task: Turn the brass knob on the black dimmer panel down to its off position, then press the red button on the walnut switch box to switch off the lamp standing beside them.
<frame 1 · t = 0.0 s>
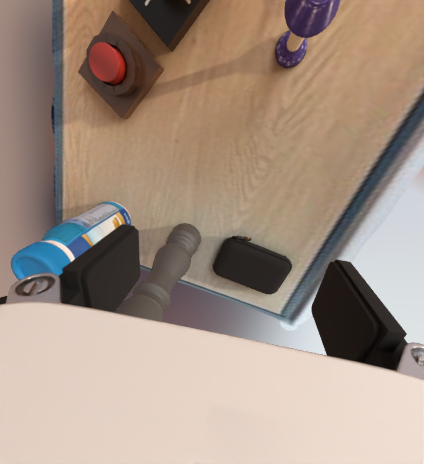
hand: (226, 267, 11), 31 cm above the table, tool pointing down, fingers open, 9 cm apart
power button: (108, 64, 31), point 5 cm above the table, slide at 0.1 cm
toy lamp: (287, 51, 31), on the table
carrying case: (252, 260, 46), on the table
candle holder: (186, 236, 46), on the table
switch box: (124, 72, 35), on the table
beverage bottle: (115, 218, 47), on the table
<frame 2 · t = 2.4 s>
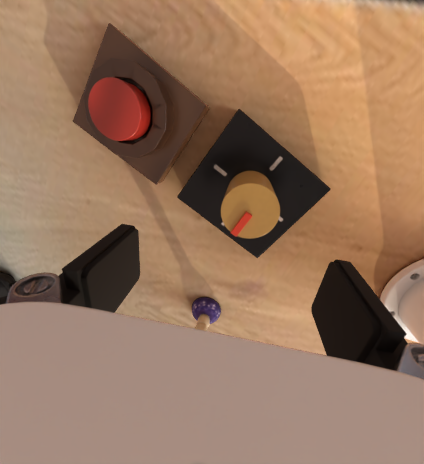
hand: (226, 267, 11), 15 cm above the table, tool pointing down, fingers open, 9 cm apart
power button: (120, 111, 18), point 5 cm above the table, slide at 0.1 cm
toy lamp: (205, 305, 32), on the table
carrying case: (6, 299, 38), on the table
dimmer knob: (249, 202, 19), point 5 cm above the table, hinge at 95.0°
dimmer: (249, 187, 24), on the table
switch box: (144, 115, 22), on the table
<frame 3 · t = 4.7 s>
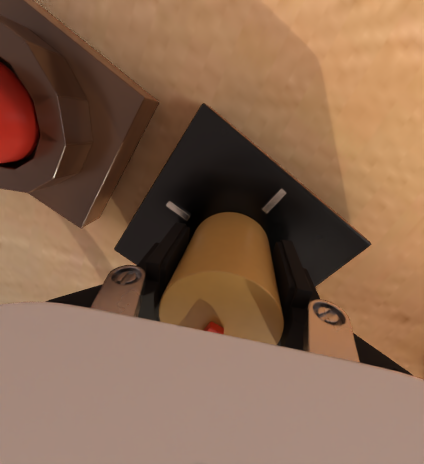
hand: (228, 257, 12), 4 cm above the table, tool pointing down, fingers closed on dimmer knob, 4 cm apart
dimmer knob: (225, 278, 10), point 5 cm above the table, hinge at 95.2°, touching gripper
dimmer: (232, 229, 15), on the table
switch box: (56, 116, 13), on the table
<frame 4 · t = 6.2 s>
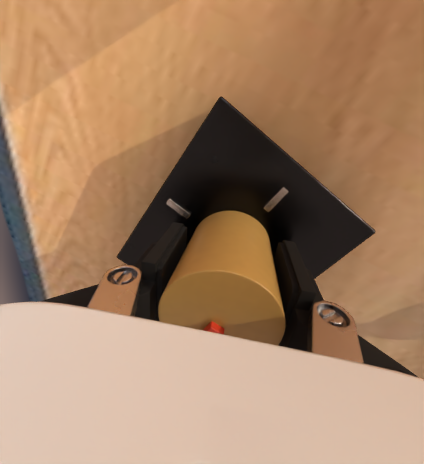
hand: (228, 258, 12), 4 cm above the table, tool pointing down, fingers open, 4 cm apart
dimmer knob: (225, 277, 10), point 5 cm above the table, hinge at 3.4°
dimmer: (232, 228, 15), on the table
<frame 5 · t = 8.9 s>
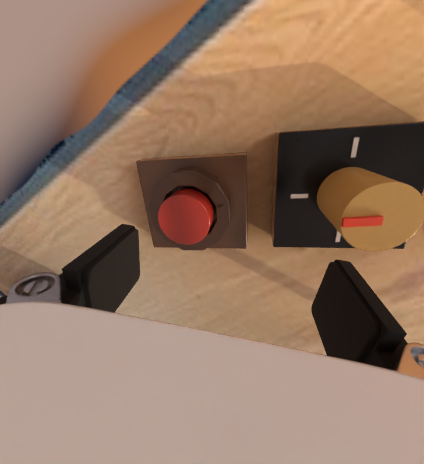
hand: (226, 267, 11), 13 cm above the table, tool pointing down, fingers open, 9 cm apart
power button: (186, 216, 19), point 5 cm above the table, slide at 0.1 cm
dimmer knob: (361, 205, 15), point 5 cm above the table, hinge at 3.3°
dimmer: (335, 187, 20), on the table
switch box: (198, 200, 23), on the table
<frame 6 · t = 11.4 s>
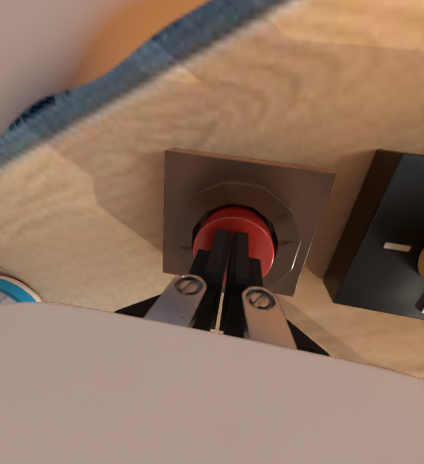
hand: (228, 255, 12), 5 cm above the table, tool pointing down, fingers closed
power button: (233, 246, 13), point 4 cm above the table, slide at -0.4 cm, touching gripper
switch box: (236, 220, 16), on the table
beverage bottle: (18, 301, 25), on the table
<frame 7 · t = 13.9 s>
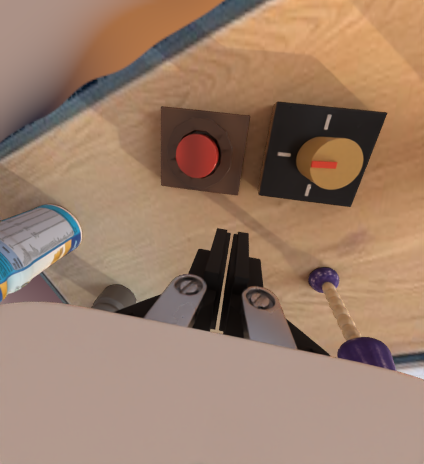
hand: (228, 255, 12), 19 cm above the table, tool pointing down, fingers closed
power button: (197, 155, 24), point 5 cm above the table, slide at 0.1 cm
toy lamp: (320, 276, 34), on the table
dimmer knob: (325, 161, 22), point 5 cm above the table, hinge at 3.3°
candle holder: (120, 297, 41), on the table
dimmer: (310, 155, 27), on the table
switch box: (204, 152, 28), on the table
beverage bottle: (60, 226, 36), on the table
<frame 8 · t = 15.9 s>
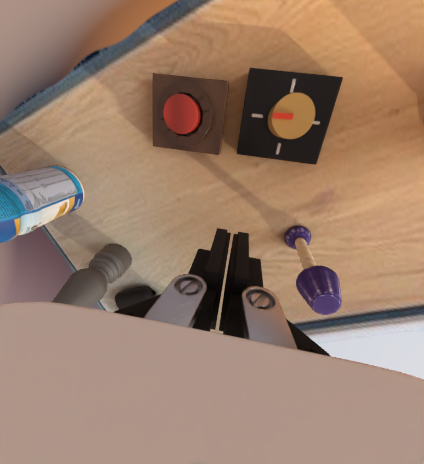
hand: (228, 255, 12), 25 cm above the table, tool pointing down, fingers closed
power button: (182, 114, 28), point 5 cm above the table, slide at 0.1 cm
toy lamp: (295, 235, 38), on the table
carrying case: (151, 309, 50), on the table
dimmer knob: (289, 117, 26), point 5 cm above the table, hinge at 3.3°
candle holder: (117, 256, 45), on the table
dimmer: (282, 119, 31), on the table
switch box: (190, 116, 32), on the table
beverage bottle: (65, 188, 40), on the table
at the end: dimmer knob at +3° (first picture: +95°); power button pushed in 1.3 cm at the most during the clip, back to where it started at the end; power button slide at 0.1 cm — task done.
